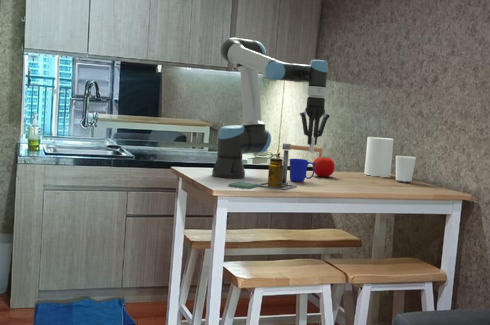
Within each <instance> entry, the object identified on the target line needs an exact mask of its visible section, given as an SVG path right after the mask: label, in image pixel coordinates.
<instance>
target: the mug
mask: <svg viewBox="0 0 490 325" xmlns="http://www.w3.org/2000/svg"><path fill="white" fill-rule="evenodd" d="M310 164H311V165H312V164H314V169H313V168H312V170H313V171H312V174H311V176H309V177H308V176H307V170H308V165H310ZM315 166H316V163H313V162H312V161H311V162H310V161H309V160H308V159H303V158H289V180H290V181H291V182H295V183H296V182H297V183H301V182H304V181H305V180H306V179H308V180H310V179H312V178H313V177H314V174H315V173H314V172H315Z"/></svg>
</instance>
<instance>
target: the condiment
mask: <svg viewBox="0 0 490 325" xmlns="http://www.w3.org/2000/svg"><path fill="white" fill-rule="evenodd" d="M269 161H270V162H269V166H268V176H267V182H268V184H265V185H264V186H269V187H277V188H287V186H284V185H282V175H283V159H282V158H276V157H275V158H272V157H271V158H270V159H269Z"/></svg>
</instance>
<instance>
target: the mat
mask: <svg viewBox="0 0 490 325" xmlns="http://www.w3.org/2000/svg"><path fill="white" fill-rule="evenodd" d="M258 184H259V183H250V182H243V181H235V182H232V183H228V185H227V187H229V186H233V187H232V188H237V187H239V188H238V189H244V188H247V190H250V189H253V188H259V187H258Z"/></svg>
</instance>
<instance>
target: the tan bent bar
mask: <svg viewBox="0 0 490 325" xmlns="http://www.w3.org/2000/svg"><path fill="white" fill-rule="evenodd" d="M281 147H282V150H288V151H290V150H294V151H296V150H297V151H304V152H309V145H306V146H305V145H298V144H297V145H296V144H292V143H285V142H284V143H282V146H281ZM323 150H324V149H323V147H316V146H314V152H315V153H318V157H319V158H322V157H323Z"/></svg>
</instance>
